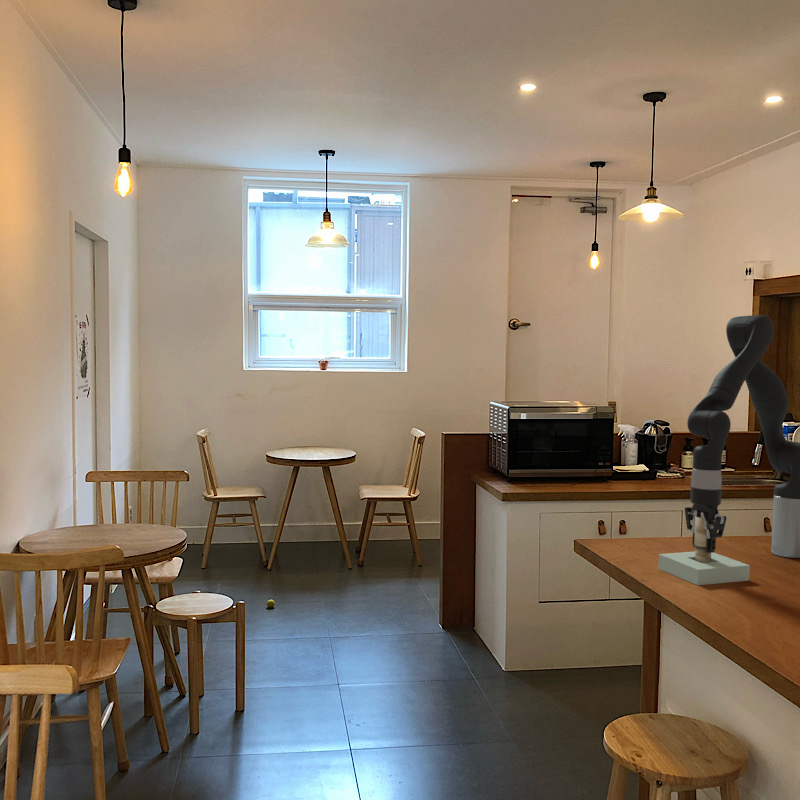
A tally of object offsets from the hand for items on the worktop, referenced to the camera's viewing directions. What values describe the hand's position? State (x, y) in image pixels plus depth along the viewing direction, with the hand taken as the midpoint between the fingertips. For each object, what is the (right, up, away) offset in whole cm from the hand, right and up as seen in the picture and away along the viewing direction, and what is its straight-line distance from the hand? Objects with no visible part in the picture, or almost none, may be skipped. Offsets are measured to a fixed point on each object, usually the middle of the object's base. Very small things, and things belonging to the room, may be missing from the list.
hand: (703, 549), depth 214 cm
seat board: (0, -7, 0) cm, 7 cm away
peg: (0, -3, 0) cm, 3 cm away
